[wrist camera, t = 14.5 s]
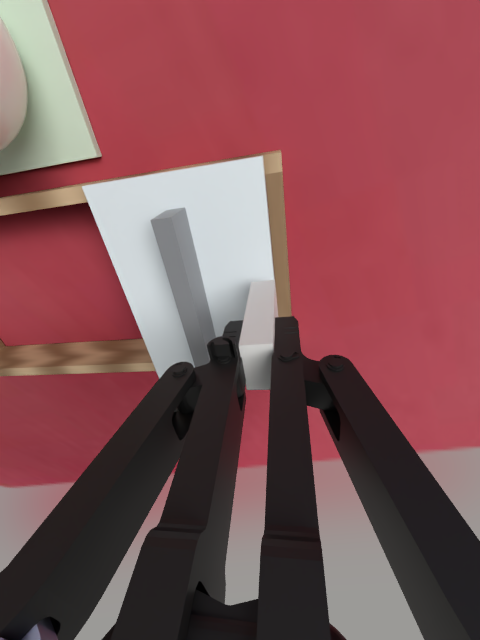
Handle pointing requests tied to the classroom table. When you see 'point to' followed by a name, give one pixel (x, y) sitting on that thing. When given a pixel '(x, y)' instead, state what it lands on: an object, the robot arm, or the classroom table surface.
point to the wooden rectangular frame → (131, 351)
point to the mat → (45, 94)
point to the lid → (186, 251)
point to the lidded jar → (11, 89)
